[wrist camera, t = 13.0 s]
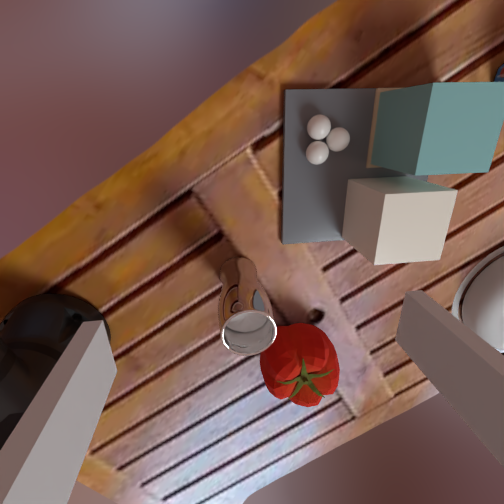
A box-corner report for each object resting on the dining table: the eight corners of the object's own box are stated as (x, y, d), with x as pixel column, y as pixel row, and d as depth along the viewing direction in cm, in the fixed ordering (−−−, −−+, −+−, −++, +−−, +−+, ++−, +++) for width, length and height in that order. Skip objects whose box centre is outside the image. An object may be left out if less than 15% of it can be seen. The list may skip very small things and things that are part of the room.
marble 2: (302, 163, 41) (309, 166, 38) (303, 140, 40) (310, 141, 37) (323, 162, 41) (331, 165, 38) (325, 139, 40) (333, 141, 37)
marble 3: (322, 151, 40) (330, 153, 38) (323, 127, 39) (332, 127, 36) (343, 150, 41) (352, 152, 38) (345, 126, 39) (355, 127, 37)
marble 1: (303, 139, 39) (310, 140, 37) (304, 115, 38) (311, 114, 36) (325, 138, 40) (333, 140, 37) (326, 114, 39) (335, 113, 36)
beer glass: (233, 246, 45) (242, 298, 32) (268, 267, 48) (290, 325, 34) (208, 279, 47) (206, 342, 34) (242, 298, 50) (255, 365, 36)
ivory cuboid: (341, 237, 46) (373, 265, 37) (348, 179, 42) (385, 194, 33) (395, 233, 47) (439, 259, 38) (406, 176, 43) (457, 190, 34)
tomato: (338, 338, 56) (364, 383, 46) (286, 378, 58) (301, 428, 49) (294, 297, 51) (313, 337, 41) (239, 343, 53) (245, 391, 44)
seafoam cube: (370, 164, 42) (414, 175, 33) (380, 92, 38) (433, 82, 29) (429, 161, 43) (488, 172, 34) (444, 91, 39) (515, 81, 30)
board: (281, 241, 46) (282, 245, 45) (283, 90, 38) (286, 89, 36) (411, 232, 49) (416, 235, 47) (441, 88, 40) (448, 87, 39)
